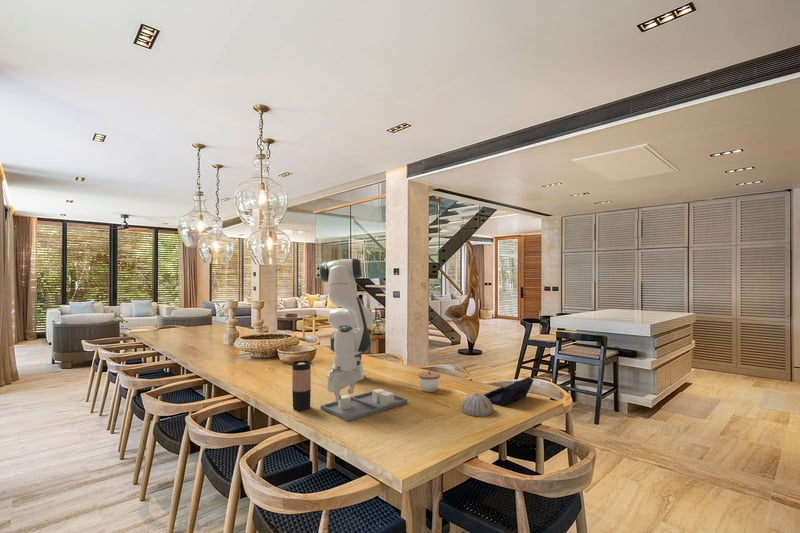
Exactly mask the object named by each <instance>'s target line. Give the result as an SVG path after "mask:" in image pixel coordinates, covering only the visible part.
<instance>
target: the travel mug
mask: <svg viewBox="0 0 800 533" xmlns="http://www.w3.org/2000/svg"><path fill="white" fill-rule="evenodd" d="M291 369H292V372H291V373H292V376H291V377H292V378H291V379H292V380H291V382H292V383H291V384H292V387H291V388H292V392H291V393H292V410H293V409H294V410H293V411H295V410H297V411H296V412H305V411H308V410H310V409H311V390H312V387H311V386H312V383H311V378H312V377H311V361H309V360H297V361H294V362H292V368H291ZM304 410H305V411H304Z"/></svg>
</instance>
